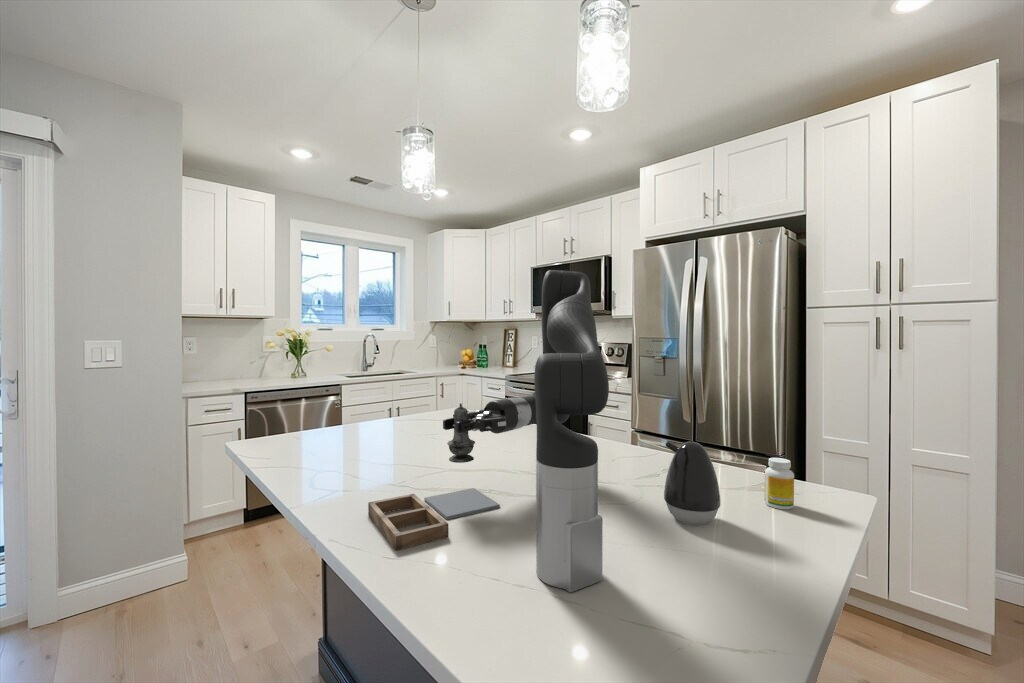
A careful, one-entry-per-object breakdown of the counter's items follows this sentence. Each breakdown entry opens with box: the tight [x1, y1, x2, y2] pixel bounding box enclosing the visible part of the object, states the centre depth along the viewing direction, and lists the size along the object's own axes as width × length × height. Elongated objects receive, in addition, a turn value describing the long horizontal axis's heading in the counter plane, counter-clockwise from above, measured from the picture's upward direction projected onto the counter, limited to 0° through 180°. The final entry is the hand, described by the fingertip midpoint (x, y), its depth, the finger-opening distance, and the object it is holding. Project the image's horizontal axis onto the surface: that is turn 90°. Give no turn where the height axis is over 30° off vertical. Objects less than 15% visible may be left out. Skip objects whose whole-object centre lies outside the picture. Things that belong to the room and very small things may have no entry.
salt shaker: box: [446, 402, 476, 464], centre depth 97 cm, size 6×6×12 cm
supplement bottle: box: [763, 457, 795, 511], centre depth 96 cm, size 5×5×10 cm
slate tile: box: [423, 487, 501, 521], centre depth 97 cm, size 12×12×1 cm
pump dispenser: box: [663, 441, 721, 526], centre depth 89 cm, size 10×10×15 cm
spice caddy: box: [367, 493, 449, 551], centre depth 86 cm, size 18×10×2 cm, turn 32°
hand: (450, 426), depth 95 cm, fingers closed on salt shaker, 3 cm apart
